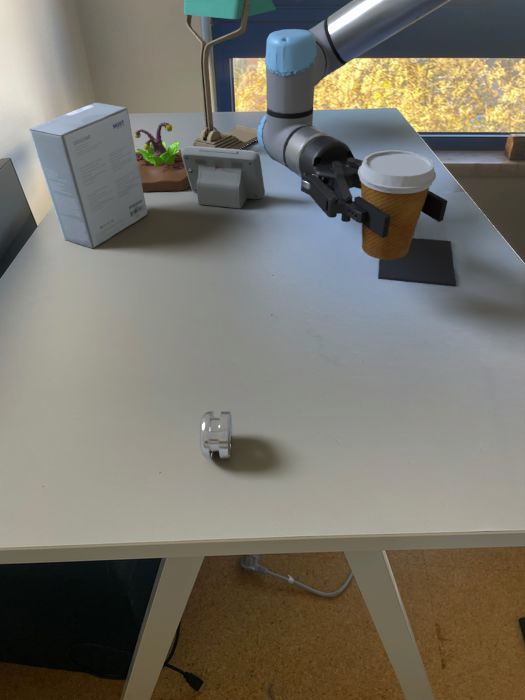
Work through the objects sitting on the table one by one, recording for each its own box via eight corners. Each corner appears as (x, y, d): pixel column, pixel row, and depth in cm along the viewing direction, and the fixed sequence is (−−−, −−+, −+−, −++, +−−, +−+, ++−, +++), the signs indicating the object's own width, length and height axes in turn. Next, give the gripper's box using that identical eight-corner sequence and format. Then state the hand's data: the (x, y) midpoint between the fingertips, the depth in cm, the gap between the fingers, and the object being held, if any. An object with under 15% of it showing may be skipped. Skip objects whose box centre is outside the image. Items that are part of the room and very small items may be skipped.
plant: (193, 195, 108) (187, 140, 100) (106, 190, 111) (94, 136, 103) (216, 160, 123) (213, 110, 115) (139, 156, 125) (130, 107, 118)
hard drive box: (119, 206, 104) (97, 101, 91) (149, 215, 101) (130, 107, 88) (61, 240, 94) (27, 126, 81) (92, 250, 91) (62, 134, 78)
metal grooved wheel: (229, 468, 55) (226, 437, 52) (201, 467, 55) (197, 437, 52) (232, 432, 59) (230, 401, 56) (206, 431, 59) (202, 401, 56)
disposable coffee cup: (418, 234, 74) (434, 150, 66) (422, 269, 67) (441, 179, 59) (351, 230, 76) (360, 147, 68) (348, 264, 68) (357, 175, 61)
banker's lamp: (179, 151, 128) (158, -23, 105) (230, 128, 140) (221, -32, 118) (230, 164, 121) (219, -20, 98) (279, 138, 133) (279, -29, 111)
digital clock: (269, 197, 106) (268, 145, 99) (248, 215, 100) (246, 161, 93) (202, 184, 112) (197, 134, 105) (179, 200, 106) (172, 148, 99)
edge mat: (450, 242, 91) (450, 240, 91) (455, 286, 80) (456, 284, 80) (381, 236, 93) (381, 234, 93) (378, 278, 83) (378, 276, 82)
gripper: (372, 170, 85) (472, 227, 70) (259, 197, 78) (341, 266, 63) (378, 123, 80) (486, 173, 65) (258, 147, 74) (347, 209, 58)
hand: (415, 219), depth 64 cm, fingers closed on disposable coffee cup, 8 cm apart
